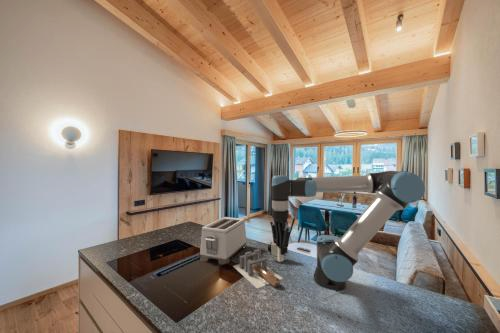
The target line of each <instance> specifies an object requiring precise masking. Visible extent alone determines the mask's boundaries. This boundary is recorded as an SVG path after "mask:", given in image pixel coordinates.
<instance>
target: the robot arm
mask: <svg viewBox="0 0 500 333" xmlns="http://www.w3.org/2000/svg"><path fill="white" fill-rule="evenodd" d="M347 192H348V193H349V192H350V193H351V192H357V193H358V192H367V194H375V197H374V199H373V200H372V201H371V202H370V203H369V205H368V206H367V207H366V208H365V209H364V210H363V212H362V213H361V214H360V215H359V217H357V219H356V220H355V221H354V222H353V223H352V225H351V226H350V227H348V229H347V231H345V233H344V234H343V235H342V236H341V237H339V236H336V235H332V234H322V235H318V236H317V237H316V242H315V243H316V267H315V271H314V273H313V281H314V283H315V284H316V285H317V286H320V287H321V288H324V289H327V290H333V291H335V292H341V291H344V290H345V289H346V288H347V282H348V280H350V279H351V278H352V276H353V274H354V266H355V265H356V264H357V263H358V261H359V253H361V251H362V250H363V249H364V248H365V247H366V245H368V244H369V242H370V241H371V240H372V239H373V237H375V236H376V234H377V233H378V232H379V231H380V230H381V229H382V228H383V227H384V225H385V224H386V223H387V221H388V220H390V218H391V217H392V216H393V215H394V214H395V213H396V211H402V210H405V208H406V207H407V206H408V205H409V204H411V203H416V202H418V201H420V200H421V199H422V198H423V197H424V195H425V192H426V186H425V182H424V181H423V179H422V178H421V177H420V175H418V174H416V173H413V172H410V171H405V170H401V171H400V170H399V171H397V170H386V171H385V170H384V171H381V172H380V171H378V172H372V173H371V172H369V173H366V174H365V175H346V176H345V175H343V176H321V177H320V176H318V177H317V176H316V177H298V178H296V179H289V176H288V175H283V174H281V175H279V174H278V175H273V176H272V178H271V217H272V219H273V221H270V222H269V225H270V226H271V228H270V229H271V233H272V239H273V240H272V242H274V243H275V244H276V246H277V261H276V262H279V263H281V262H284V261H285V256H284V254H285V247H289V242H290V237H291V232H292V230H293V227H292V226H289V222H288V219H289V217H290V214H289V212H290V211H289V206H290V205H289V204H290V202H289V197H292V198H293V197H299V198H301V197H303V198H311V197H312V198H314V197H316V196H317V193H347ZM285 255H286V254H285Z"/></svg>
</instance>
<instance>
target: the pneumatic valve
mask: <svg viewBox="0 0 500 333" xmlns="http://www.w3.org/2000/svg"><path fill="white" fill-rule="evenodd" d="M288 247H289V246H288ZM288 247H285V254H284V257H286V254H288V253H289V252H288ZM267 252H268V253H269V254H270V256H273V261H275V262H278V261H277V246H276V244H275V243H274V241H271V242H270V243H269V244H268V245H267Z"/></svg>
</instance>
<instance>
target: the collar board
mask: <svg viewBox="0 0 500 333" xmlns="http://www.w3.org/2000/svg"><path fill="white" fill-rule="evenodd" d="M251 257H252V260H251V259H249V258H251ZM267 262H268V261H267V257H262V250H261V249H260V248H259V249H254V250H253V252H252V251H247V252H245V254H242V255H239V264H235V265H232V267H233V268H234V269H235V270H237V272H238V273H239V274H241V275H242V276H243V277H244V278H245V279H246V280H247V281H248V282H249V283H250V284H251V285H253V287H255V288H256V289H259V288H263V287H265V286H267V285H271V284H270V283H269V282H268V281H267V280H265V279H264V278H263V277H262V276H260V275H259V274H258V273H257V272H255V271H254V270H253V266H254V265H255V264H259V265H260V266H262V267H263V268H264V269H267V270H268V271H269V272H270V273H271V274H273V275H274V276H275V277H277V278H278V279H279V280H280V281H281V280H283V279H284V277H282V276H281V275H279V274H278V273H276V271H273V270H272V269H271V268H269V267H268V263H267Z"/></svg>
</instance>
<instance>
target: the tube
mask: <svg viewBox="0 0 500 333" xmlns="http://www.w3.org/2000/svg"><path fill="white" fill-rule="evenodd" d="M253 270H254V271H255V272H257V273H258V274H259V275H260V276H262V277H263V278H264V279H265V280H267V281H268V282H269V283H270V284H269V285H272V287H274V288H277V287H278V286H280V283H281V282H280V281H281V280H279V279H278V278H277V277H275V276H274V275H273V274H271V273H270V272H269V271H268V270H267V269H264V268H263V267H262V266H260V265H259V264H255V265H254V266H253Z"/></svg>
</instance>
